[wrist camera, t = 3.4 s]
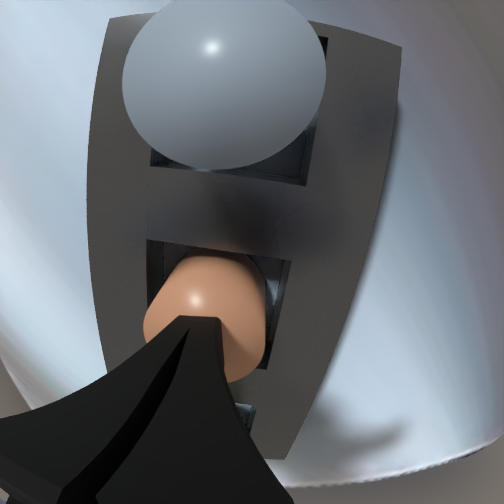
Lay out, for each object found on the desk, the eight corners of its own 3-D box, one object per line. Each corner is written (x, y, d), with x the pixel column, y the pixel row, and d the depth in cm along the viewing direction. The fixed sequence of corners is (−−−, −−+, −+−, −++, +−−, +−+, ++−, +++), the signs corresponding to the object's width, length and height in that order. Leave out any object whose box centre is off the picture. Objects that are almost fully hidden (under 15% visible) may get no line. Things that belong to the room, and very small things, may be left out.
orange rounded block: (173, 238, 12) (140, 276, 8) (273, 253, 12) (275, 298, 8) (171, 320, 13) (147, 371, 10) (257, 334, 13) (255, 391, 10)
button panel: (131, 33, 9) (109, 18, 7) (381, 59, 9) (401, 47, 7) (133, 409, 16) (124, 431, 14) (283, 435, 16) (284, 459, 15)
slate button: (183, 35, 7) (143, -10, 4) (311, 47, 7) (335, 0, 4) (165, 152, 9) (112, 161, 5) (292, 167, 9) (309, 184, 5)
